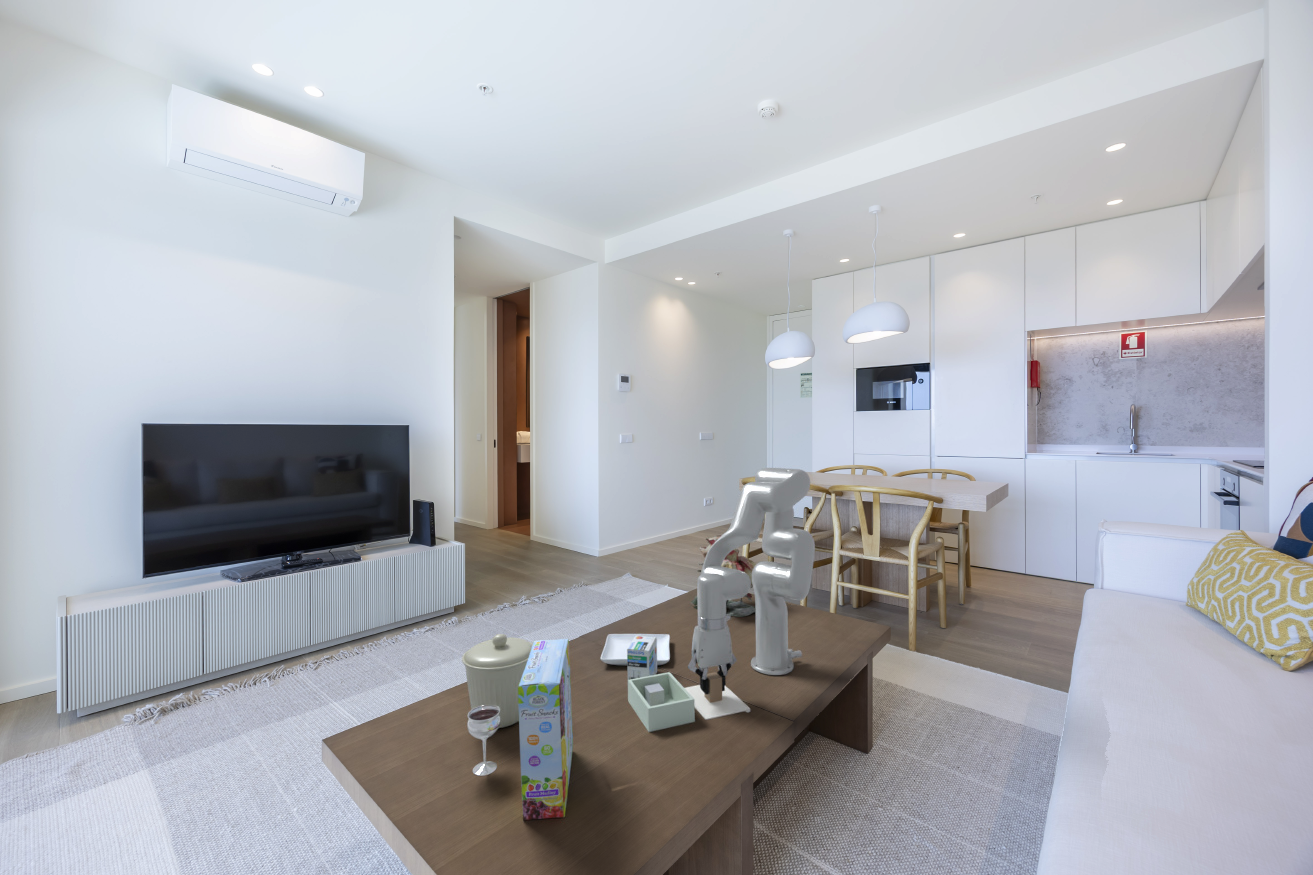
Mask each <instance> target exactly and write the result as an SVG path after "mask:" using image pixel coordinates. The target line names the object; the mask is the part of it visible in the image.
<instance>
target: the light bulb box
mask: <svg viewBox="0 0 1313 875" xmlns="http://www.w3.org/2000/svg"><path fill="white" fill-rule="evenodd" d="M626 666H627V667H626V668H627V681H628V680H630V679H635V678H641V677H646V676H652V675H657V673H658V665H657V638H656V637H646V636H635V638H634V639H633V641H632V642H631V644H630V645H629V647H628V649H627V665H626Z"/></svg>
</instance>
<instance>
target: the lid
mask: <svg viewBox="0 0 1313 875" xmlns="http://www.w3.org/2000/svg"><path fill="white" fill-rule="evenodd" d="M707 679H708V680H709V694H707V695H706V694H705V693H704V692H703V691H702V690H701V688H700V684H698V685H691V686H687V687H684V688H685V689H686V690H687V692H688V693H689V694H690V695H691V696H692V697H693V698H694V705H695V710H696V711H697V712H698V713H699V715H701V717H702V718H703V719H704V720H706V721H708V720H711V719H716V718H720V717H724V716H729V715H733V714H737V713H739V714H740V713H742V712H745V713H750V712H751V708H750V707H749V706H748V705H747V704H746V703H745V702H743V700H742V699H741V698H740V697H739V696H737V695H736V694H735V693H734V692H733V691H732V690H731V689H730V688H728V687H727V686H726V685H725V691H722V677H721V676H720V675H719V674H717V671H715V672H710V673H707Z"/></svg>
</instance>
